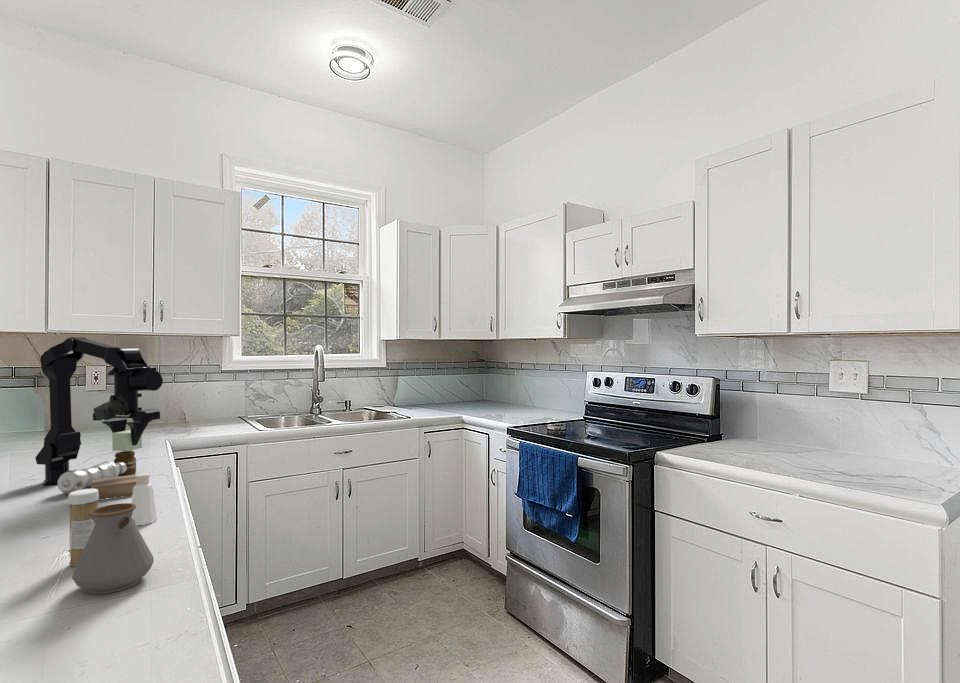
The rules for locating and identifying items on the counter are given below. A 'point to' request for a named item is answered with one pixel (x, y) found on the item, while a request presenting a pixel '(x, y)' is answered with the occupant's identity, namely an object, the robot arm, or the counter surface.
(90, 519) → the sprinkles bottle
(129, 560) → the coffee pot
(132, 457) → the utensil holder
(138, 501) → the salt shaker
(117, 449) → the sage cube
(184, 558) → the counter surface
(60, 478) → the plastic bottle
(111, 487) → the walnut block
